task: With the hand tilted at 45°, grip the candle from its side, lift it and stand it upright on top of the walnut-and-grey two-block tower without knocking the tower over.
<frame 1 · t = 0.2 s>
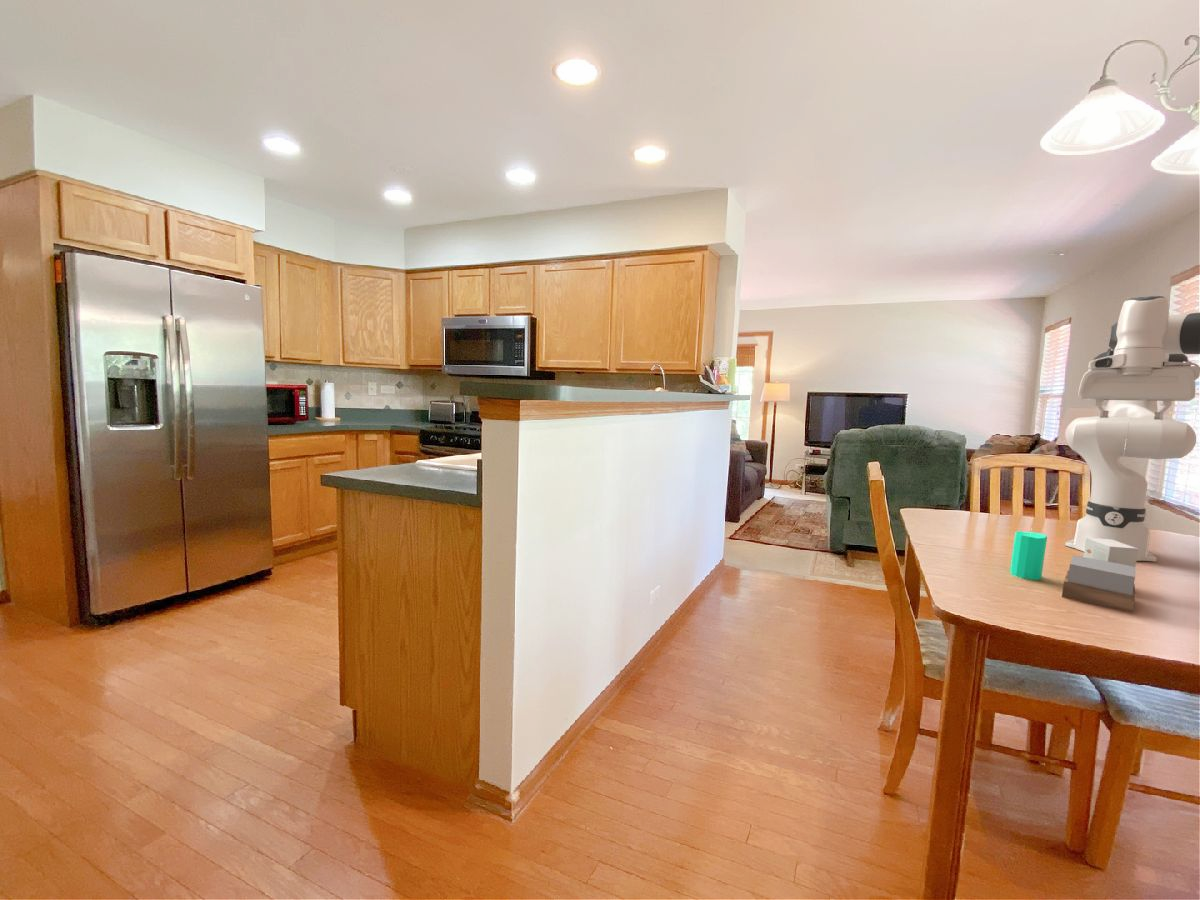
hand: (1130, 418, 129), 39 cm above the table, tool pointing down, fingers open, 8 cm apart
tower base: (1096, 600, 115), on the table, touching tower top
candle: (1025, 576, 129), on the table
small box: (1104, 586, 123), on the table
tower top: (1099, 583, 115), point 3 cm above the table, touching tower base
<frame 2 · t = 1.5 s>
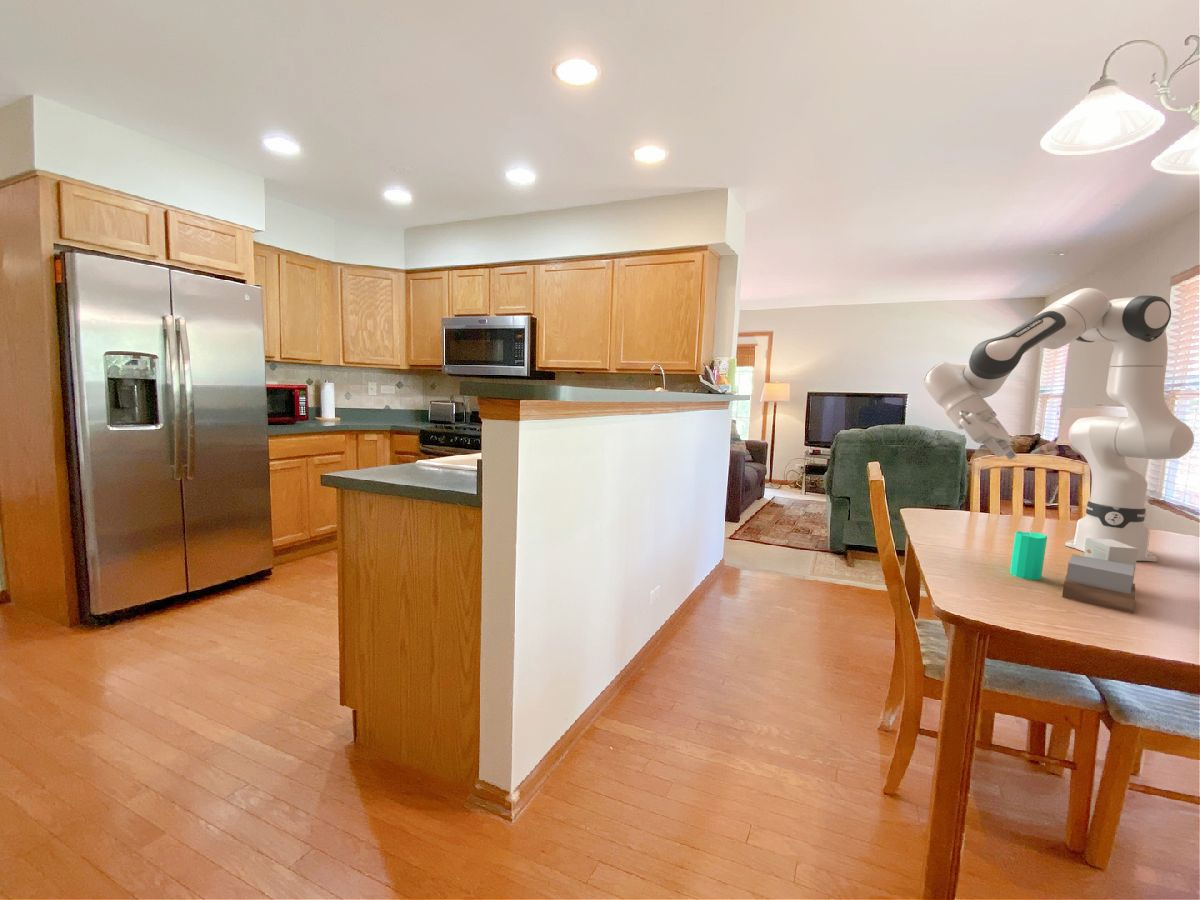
hand: (1008, 457, 132), 28 cm above the table, tool tilted 45°, fingers open, 8 cm apart
tower base: (1096, 599, 115), on the table
tower top: (1098, 581, 115), point 4 cm above the table
everything else where it was.
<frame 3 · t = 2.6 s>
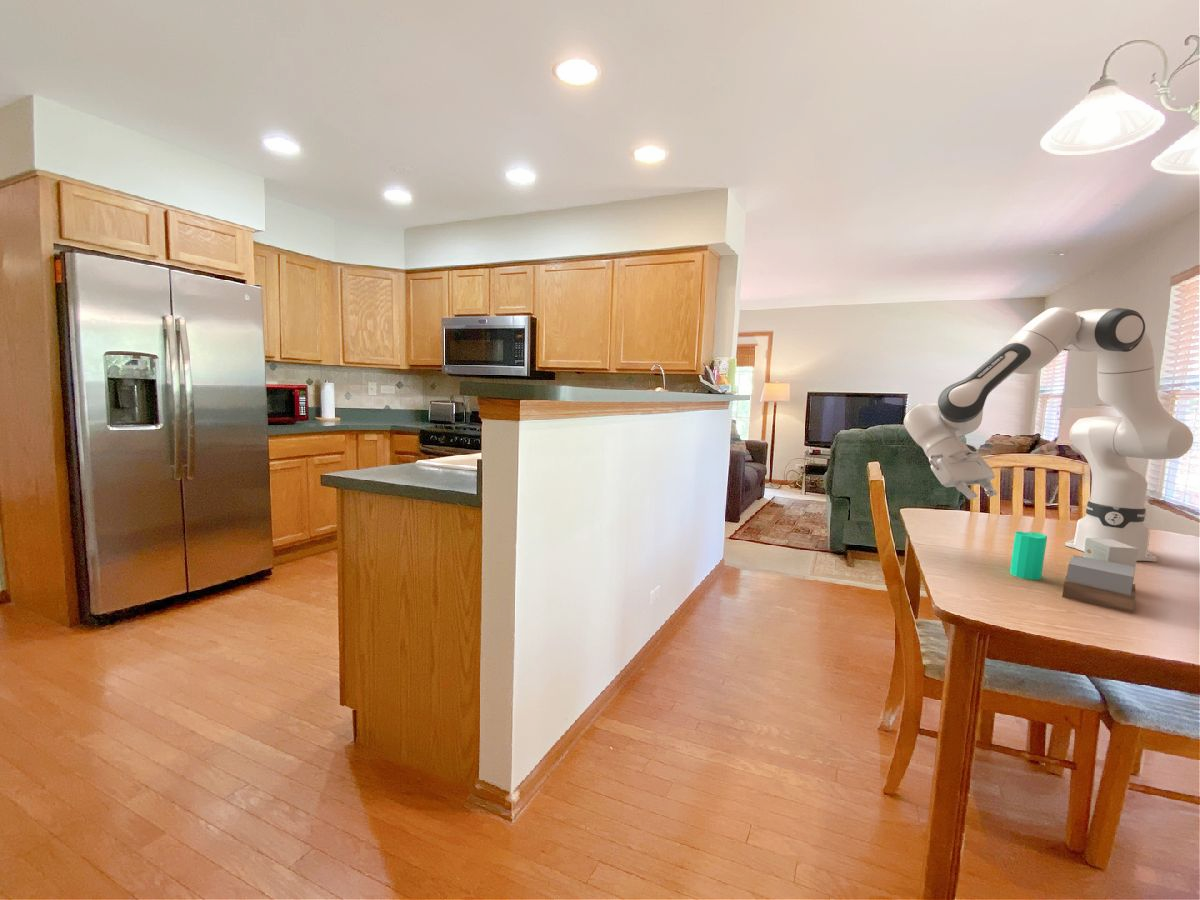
hand: (983, 497, 136), 17 cm above the table, tool tilted 45°, fingers open, 8 cm apart
tower base: (1097, 600, 115), on the table, touching tower top
tower top: (1099, 582, 115), point 3 cm above the table, touching tower base
everything else where it was.
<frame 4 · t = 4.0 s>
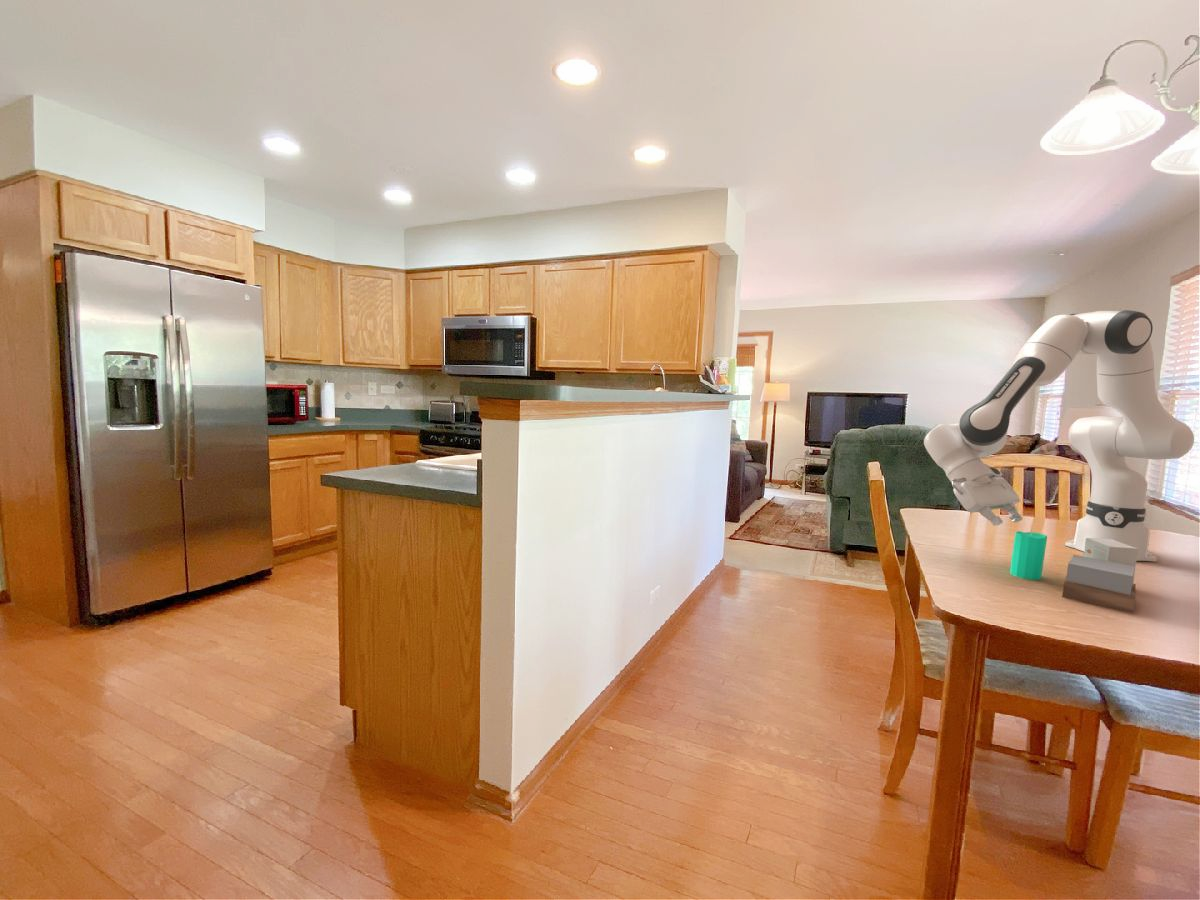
hand: (1009, 522, 131), 12 cm above the table, tool tilted 45°, fingers open, 8 cm apart
nothing on the table moved.
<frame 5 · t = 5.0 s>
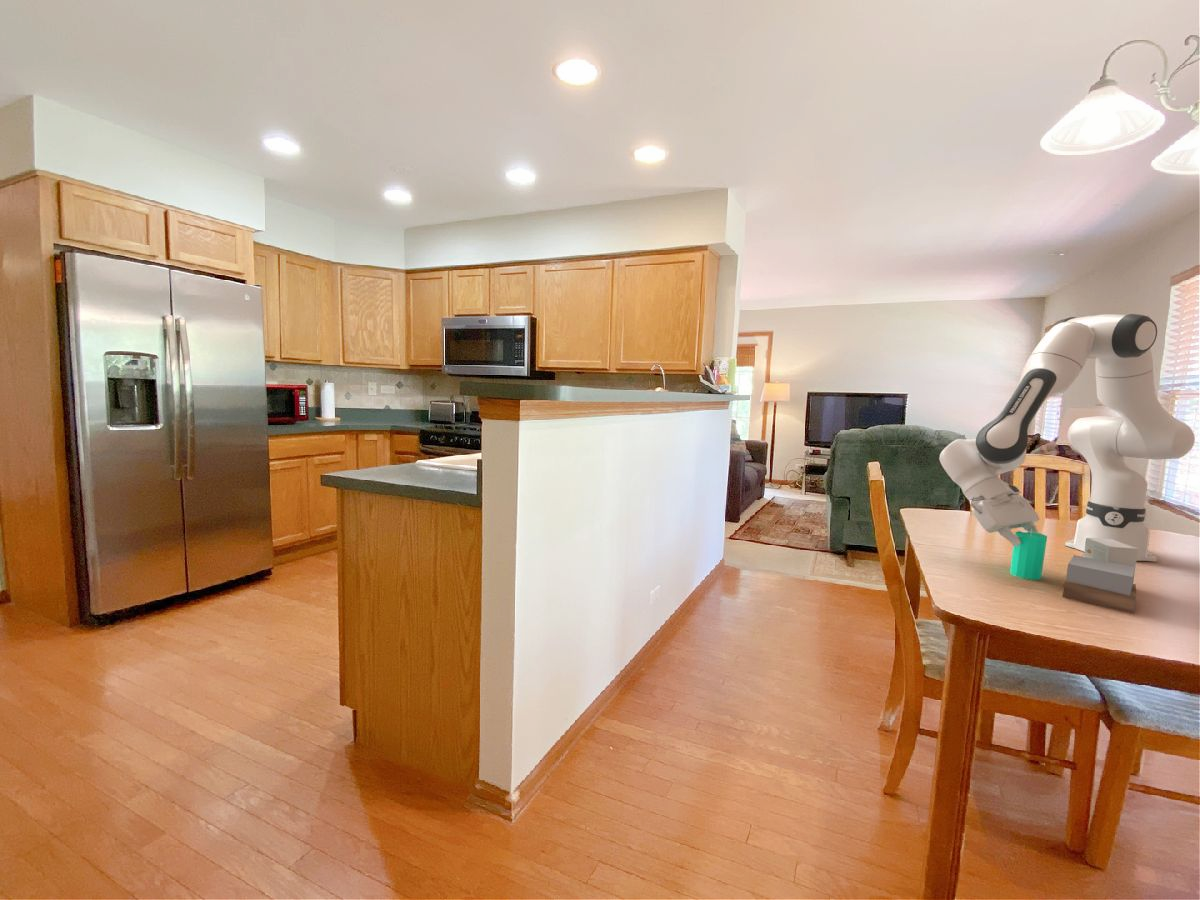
hand: (1029, 542, 128), 8 cm above the table, tool tilted 45°, fingers open, 8 cm apart
nothing on the table moved.
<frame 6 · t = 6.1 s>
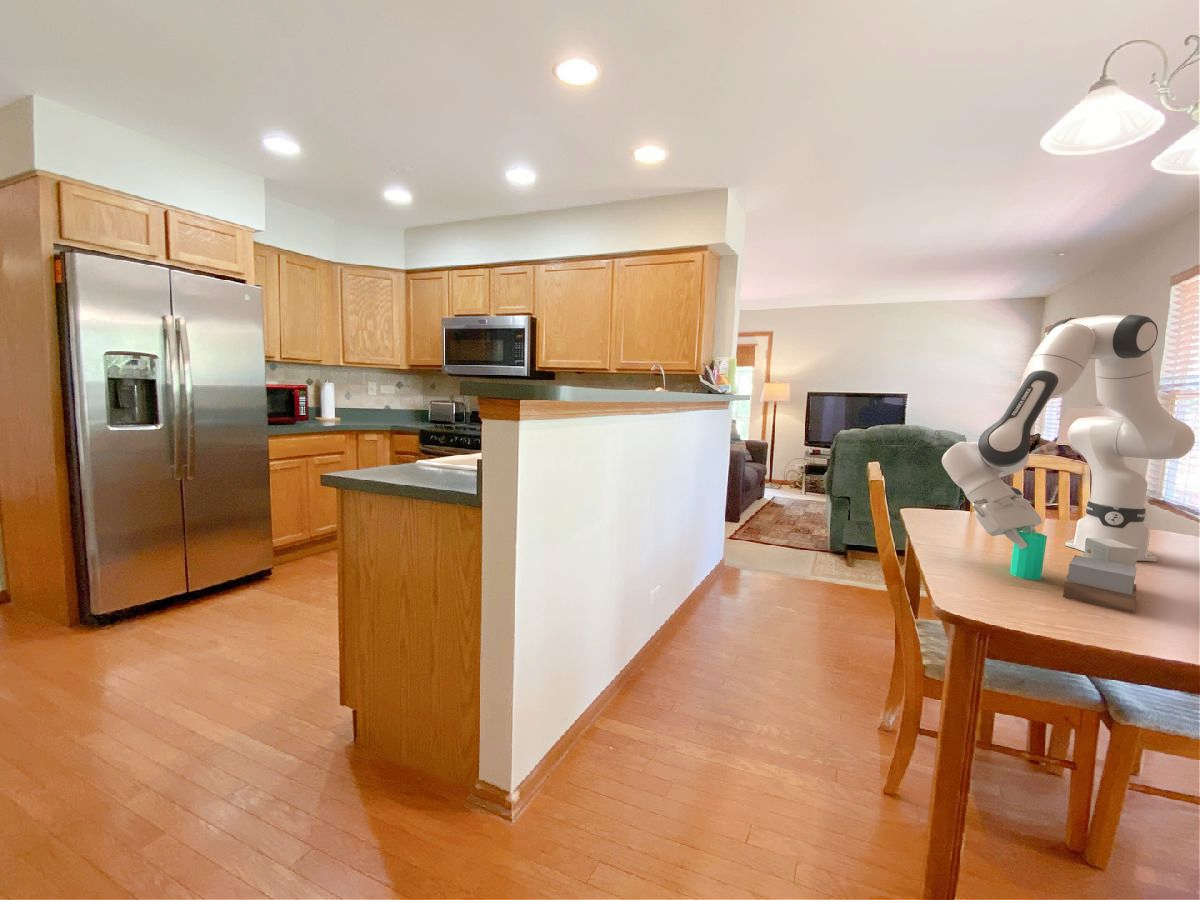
hand: (1032, 546, 127), 8 cm above the table, tool tilted 45°, fingers closed on candle, 5 cm apart
candle: (1025, 576, 129), on the table, touching gripper
everything else where it was.
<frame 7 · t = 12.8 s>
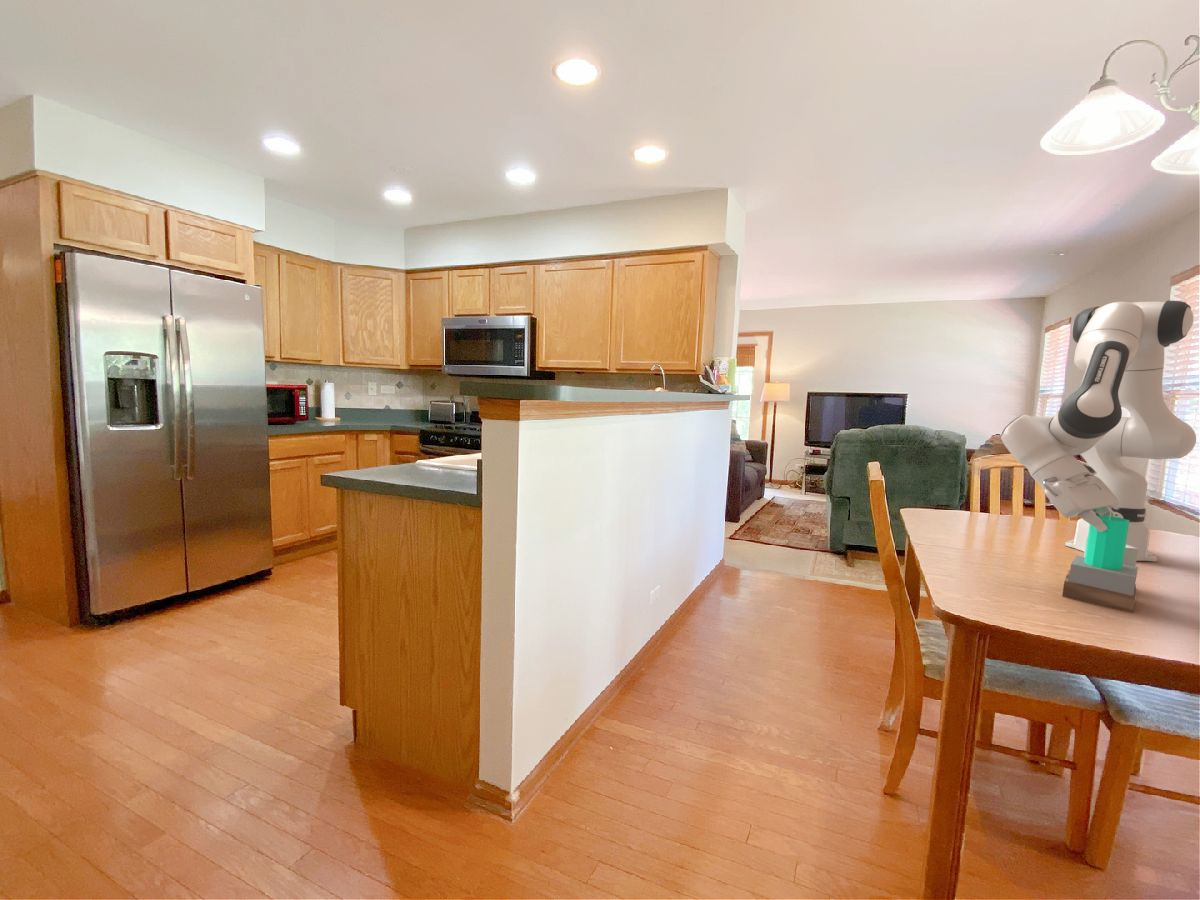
hand: (1111, 529, 113), 16 cm above the table, tool tilted 45°, fingers closed on candle, 5 cm apart
candle: (1102, 566, 114), point 7 cm above the table, touching gripper
everything else where it was.
when the fingers open (16 cm above the table, at t = 13.3 s): candle stays where it is, point 8 cm above the table.
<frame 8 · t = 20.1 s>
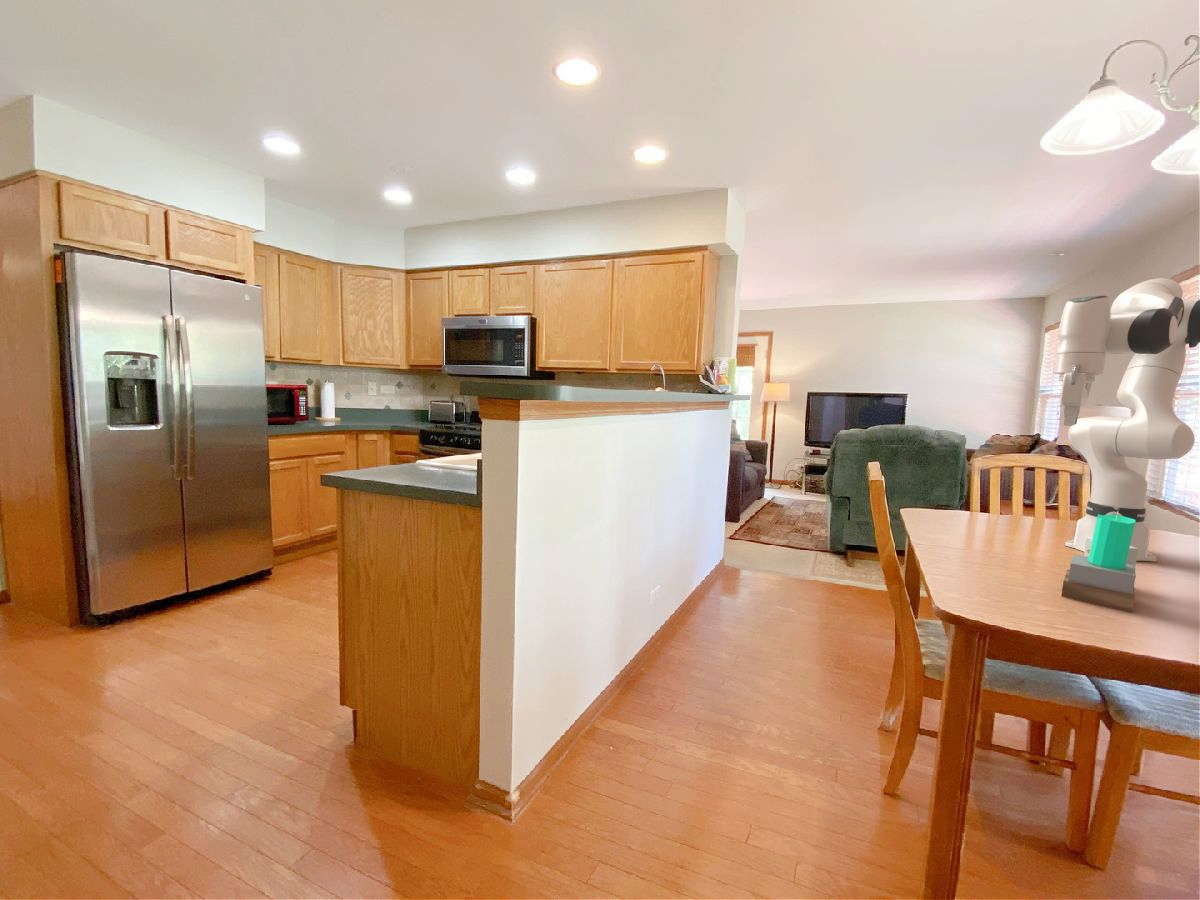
hand: (1070, 425, 125), 37 cm above the table, tool pointing down, fingers open, 8 cm apart
candle: (1106, 564, 114), point 8 cm above the table
everything else where it was.
at the end: candle inside the target area on the tower base (0.5 cm from its centre), point 8.1 cm above the tower base's base; candle tilted 5°; tower top moved 0.9 cm from its start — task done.
